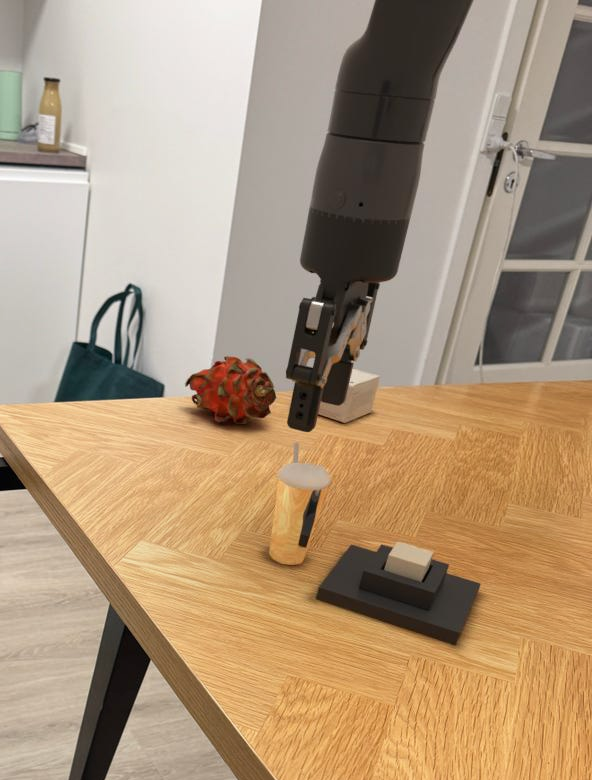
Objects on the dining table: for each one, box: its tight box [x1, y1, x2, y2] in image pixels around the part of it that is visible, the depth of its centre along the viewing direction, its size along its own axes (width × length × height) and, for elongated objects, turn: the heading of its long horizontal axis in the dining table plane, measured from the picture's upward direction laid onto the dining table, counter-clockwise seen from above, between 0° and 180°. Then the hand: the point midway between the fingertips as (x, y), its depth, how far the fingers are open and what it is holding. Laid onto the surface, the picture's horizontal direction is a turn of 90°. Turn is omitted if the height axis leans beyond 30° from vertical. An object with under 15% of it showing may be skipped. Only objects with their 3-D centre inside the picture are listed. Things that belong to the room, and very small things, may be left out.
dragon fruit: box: [183, 355, 277, 425], centre depth 112 cm, size 8×8×12 cm
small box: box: [318, 367, 381, 424], centre depth 119 cm, size 8×8×5 cm
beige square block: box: [384, 541, 434, 582], centre depth 77 cm, size 3×3×2 cm
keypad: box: [315, 544, 482, 646], centre depth 78 cm, size 12×10×3 cm
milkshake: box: [268, 442, 331, 566], centre depth 81 cm, size 4×5×10 cm
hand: (316, 415), depth 76 cm, fingers open, 8 cm apart
